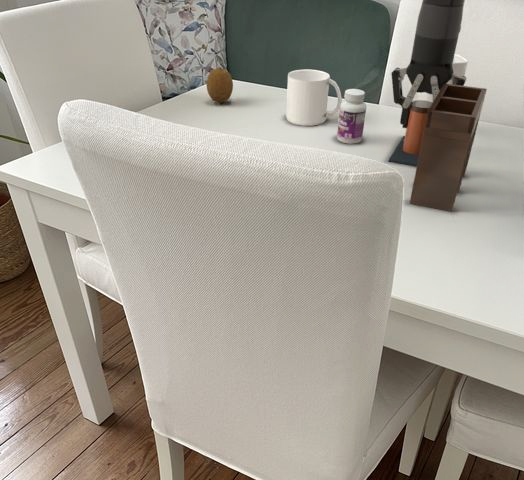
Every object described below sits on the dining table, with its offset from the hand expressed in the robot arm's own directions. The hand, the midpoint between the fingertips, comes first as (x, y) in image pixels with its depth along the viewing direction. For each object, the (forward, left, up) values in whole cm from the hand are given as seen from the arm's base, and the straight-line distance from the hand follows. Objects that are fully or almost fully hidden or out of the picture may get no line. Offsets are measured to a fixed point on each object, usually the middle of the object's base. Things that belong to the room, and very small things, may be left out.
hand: (418, 128), depth 112 cm
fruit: (+49, -11, -5) cm, 50 cm away
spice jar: (0, 0, -4) cm, 4 cm away
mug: (+25, -9, -5) cm, 27 cm away
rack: (-7, +15, -5) cm, 18 cm away
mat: (0, 0, -5) cm, 5 cm away
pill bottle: (+14, -1, -5) cm, 15 cm away
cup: (-1, -13, -5) cm, 14 cm away
